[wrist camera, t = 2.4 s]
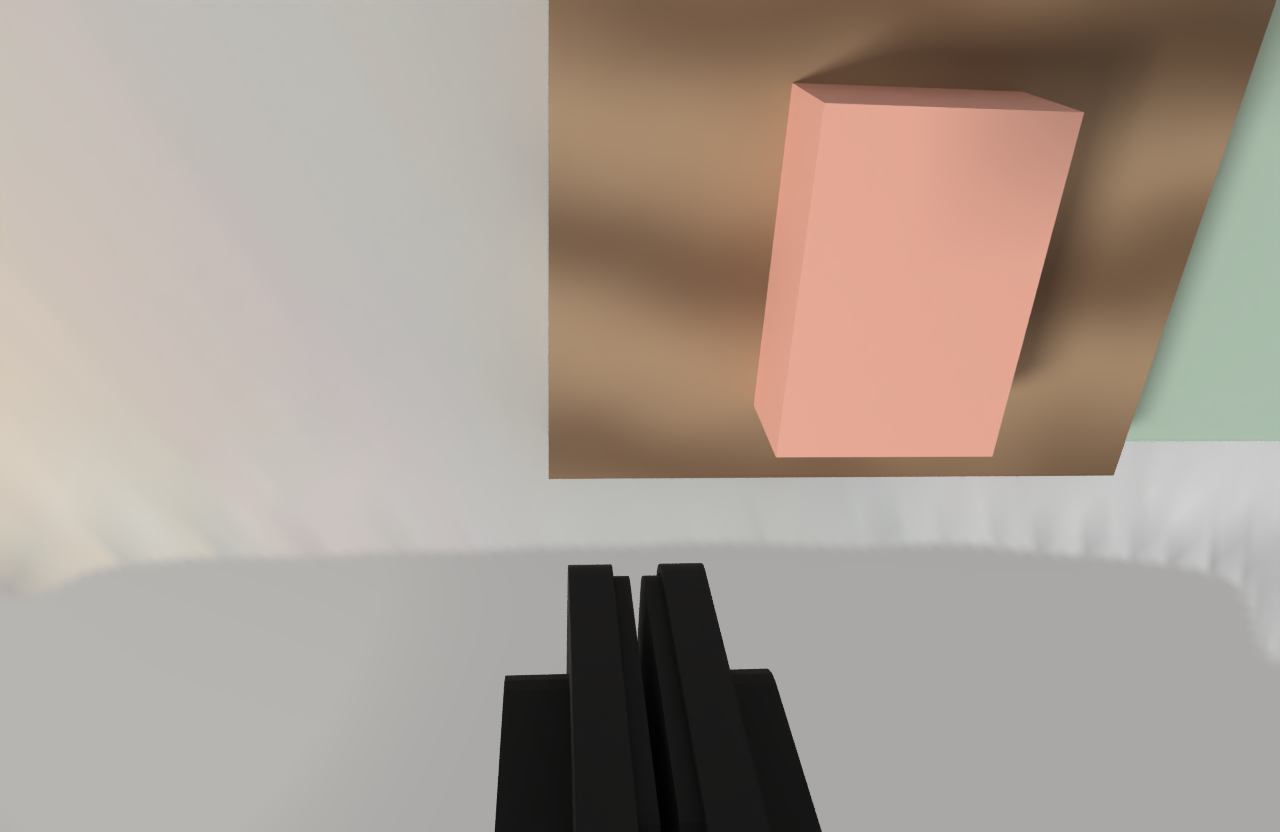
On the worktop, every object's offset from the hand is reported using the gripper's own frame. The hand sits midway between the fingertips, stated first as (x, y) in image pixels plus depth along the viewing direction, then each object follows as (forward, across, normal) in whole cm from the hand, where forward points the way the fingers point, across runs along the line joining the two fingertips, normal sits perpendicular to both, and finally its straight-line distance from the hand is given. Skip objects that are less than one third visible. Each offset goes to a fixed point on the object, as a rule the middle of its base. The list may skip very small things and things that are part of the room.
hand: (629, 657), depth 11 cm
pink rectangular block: (+13, -8, -1) cm, 15 cm away
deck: (+17, -8, -1) cm, 19 cm away
